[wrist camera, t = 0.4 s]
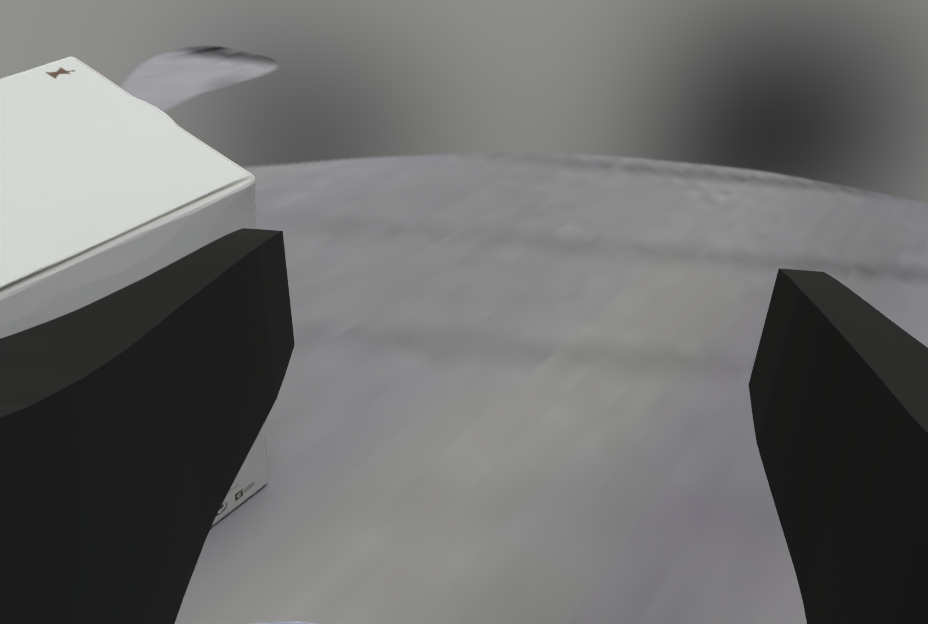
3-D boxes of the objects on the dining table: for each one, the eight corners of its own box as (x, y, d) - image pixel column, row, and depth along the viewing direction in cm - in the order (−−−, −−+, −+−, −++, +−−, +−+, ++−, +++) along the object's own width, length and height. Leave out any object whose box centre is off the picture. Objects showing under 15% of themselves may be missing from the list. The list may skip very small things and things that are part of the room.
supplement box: (-71, 485, 31) (-249, 138, 21) (138, 365, 37) (75, 46, 27) (67, 645, 28) (-69, 318, 18) (276, 485, 33) (263, 168, 23)
